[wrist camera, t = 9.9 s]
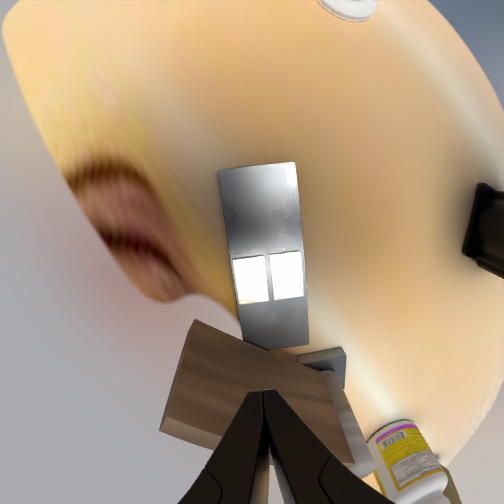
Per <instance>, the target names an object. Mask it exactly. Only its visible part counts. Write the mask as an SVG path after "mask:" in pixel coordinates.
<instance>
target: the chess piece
mask: <svg viewBox="0 0 504 504" xmlns="http://www.w3.org/2000/svg"><path fill="white" fill-rule="evenodd" d="M318 2H319V3H320V4H321V6H322V7H323V8H324V9H326V10H327V11H328V12H330V13H331V14H333V15H334V16H336V17H339V18H341V19H344V20H347V21H353V22H362V21H366V20H368V19H370V18H371V17H372V16H373V15H374V12H375V11H376V8H377V1H376V0H318Z"/></svg>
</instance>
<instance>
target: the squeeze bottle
mask: <svg viewBox="0 0 504 504" xmlns="http://www.w3.org/2000/svg"><path fill="white" fill-rule="evenodd" d="M440 465H441V464H440ZM441 467H442V468H443V470H444V472H445V473H446V475H447V478H448V482H447V485H446V488H445V489H444V490H443V492H442V493H443V495H444V496H446V498H448V499H449V501H450V503H451V504H462V503H461V500H460V498H459V495H458V492H457V490H456V487H455V485H454V482H453V480H452V477H451V475H450V473H449V471H448V470H447V469H446V468H445V467H443V466H442V465H441Z"/></svg>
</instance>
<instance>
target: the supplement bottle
mask: <svg viewBox="0 0 504 504" xmlns="http://www.w3.org/2000/svg"><path fill="white" fill-rule="evenodd" d="M367 446H368V448H369V450H370V453H371V455H372V458H373V460H374V462H375V465H376V468H375V470H374V471H373V473H374V475H375V478H376V480H377V483H378V485H379V487H380V490H381V492H382V495H384V496H385V497H387V498H388V499H390V500H391V501H393V502H394V503H396V504H451V503H450V501H449V499H448V498H446V496H444V495H443V493H442V492H443V490H444V489H445V488H446V485H447V482H448V478H447V475H446V473H445V472H444V470H443V468H442V467H441V465H440V464H439V462H438V460H437V459H436V457H435V455H434V454H433V452H432V450H431V449H430V447H429V446H428V444H427V442H426V441H425V439H424V437H423V436H422V434H421V433H420V431H419V429H418V428H417V426H416V425H415V424H414V423H413V422H411V421H399V422H396V423H393V424H390V425H388V426H386V427H384V428H383V429H381V430H380V431H378V432H377V433H376V434H375V435H374V436H373V437H372V438H371V439H370V440H369V441H368V443H367Z"/></svg>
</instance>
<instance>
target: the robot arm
mask: <svg viewBox="0 0 504 504" xmlns="http://www.w3.org/2000/svg"><path fill="white" fill-rule="evenodd" d="M482 187H483V190H482ZM467 250H468V251H467ZM463 254H464V255H465V256H468V257H471V258H473V259H476V260H477V266H479V267H481V268H483V269H485V270H487V271H489V272H491V273H493V274H495V275H497V276H499V277H501V278H503V279H504V192H503V191H496V190H495V189H493V188H492V187H490V186H488V185H487V184H485V183H479V184H478V188H477V193H476V198H475V203H474V208H473V212H472V216H471V220H470V224H469V228H468V232H467V236H466V239H465V243H464V246H463ZM269 448H270V451H269ZM270 454H271V458H272V462H273V465H274V469H275V472H276V476H277V479H278V483H279V486H280V490H281V493H282V497H283V500H284V504H396V503H394V502H393V501H391V500H390V499H388V498H387V497H385V496H384V495H382V494H381V493H379V492H378V491H376V490H375V489H374V488H372V487H371V486H369V485H368V484H367V483H365V482H364V481H363V480H361V479H360V478H359V477H358V476H356V475H355V474H354V473H353V472H351V471H350V470H349V469H348V468H347V467H346V466H345V465H344V464H343V463H342V462H341V461H340V460H339V459H338V458H337V457H336V456H335V455H334V454H332V452H331V451H330V449H329V448H328V447H327V446H326V445H325V444H324V443H323V442H322V441H321V440H320V439H319V437H318V436H317V435H316V434H315V433H314V432H313V431H312V430H311V429H310V427H309V426H308V425H307V424H306V423H305V422H304V421H303V420H302V418H301V417H300V416H299V415H298V414H297V413H296V412H295V410H294V409H293V408H292V407H291V406H290V405H289V403H288V402H287V401H286V400H285V399H284V397H283V396H282V395H281V394H280V393H279V392H278V390H277V389H275V388H271V389H264V390H263V391H261V390H255V391H249V392H248V393H247V395H246V397H245V398H244V400H243V402H242V404H241V406H240V407H239V409H238V411H237V413H236V414H235V416H234V418H233V420H232V421H231V423H230V425H229V427H228V428H227V430H226V432H225V434H224V435H223V437H222V439H221V440H220V442H219V444H218V445H217V447H216V449H215V450H214V452H213V454H212V455H211V457H210V459H209V460H208V462H207V464H206V465H205V468H204V469H203V470H202V471H201V473H200V475H199V476H198V478H197V479H196V481H195V482H194V483H193V485H192V486H191V488H190V489H189V490H188V492H187V493H186V494H185V495H184V497H183V498H182V499H181V500H180V501H179V502H178V504H268V491H269V490H268V489H269V465H270Z"/></svg>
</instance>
